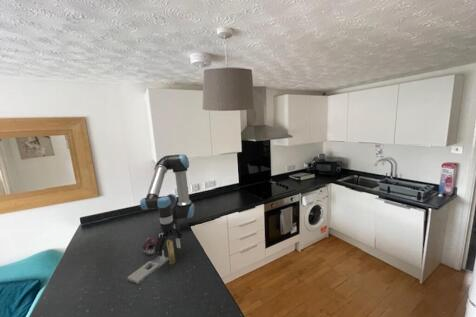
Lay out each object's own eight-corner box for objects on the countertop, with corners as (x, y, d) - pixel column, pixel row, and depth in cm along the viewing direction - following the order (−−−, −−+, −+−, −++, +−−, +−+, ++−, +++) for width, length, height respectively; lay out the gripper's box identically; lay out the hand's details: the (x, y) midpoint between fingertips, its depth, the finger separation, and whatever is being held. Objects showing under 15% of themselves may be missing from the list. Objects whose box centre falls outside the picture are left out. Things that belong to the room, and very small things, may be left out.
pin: (172, 260, 129) (169, 238, 127) (176, 261, 128) (173, 239, 126) (168, 263, 126) (165, 241, 124) (172, 264, 125) (169, 242, 122)
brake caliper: (140, 256, 132) (141, 237, 138) (145, 257, 142) (145, 239, 147) (158, 252, 135) (158, 234, 140) (161, 254, 144) (161, 237, 150)
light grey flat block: (150, 263, 128) (149, 260, 128) (160, 266, 124) (159, 263, 123) (127, 280, 114) (127, 277, 114) (138, 284, 110) (137, 281, 110)
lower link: (159, 256, 134) (159, 255, 134) (169, 259, 130) (168, 258, 130) (139, 271, 121) (139, 270, 121) (149, 275, 117) (149, 274, 117)
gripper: (176, 213, 136) (180, 242, 139) (145, 230, 114) (150, 264, 117) (185, 214, 132) (188, 244, 135) (154, 232, 110) (159, 267, 113)
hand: (171, 253), depth 126 cm, fingers open, 13 cm apart
